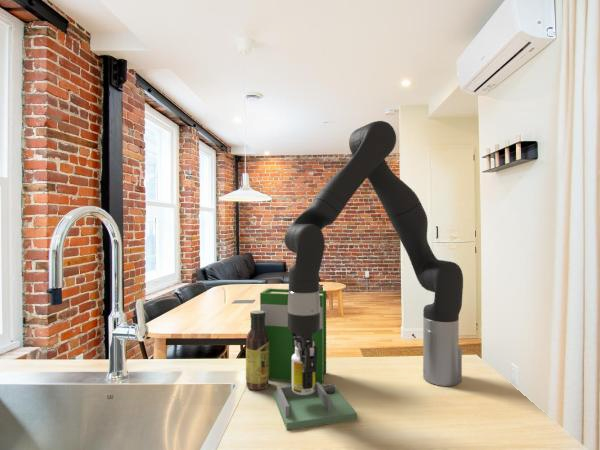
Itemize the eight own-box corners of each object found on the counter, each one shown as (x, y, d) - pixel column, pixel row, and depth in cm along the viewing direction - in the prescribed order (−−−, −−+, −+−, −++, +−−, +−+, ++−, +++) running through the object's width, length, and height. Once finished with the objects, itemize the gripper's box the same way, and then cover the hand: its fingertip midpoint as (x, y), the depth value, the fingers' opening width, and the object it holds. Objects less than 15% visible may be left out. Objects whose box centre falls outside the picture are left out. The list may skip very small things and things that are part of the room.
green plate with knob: (333, 389, 97) (333, 374, 97) (356, 419, 82) (356, 401, 82) (273, 397, 93) (273, 381, 93) (286, 430, 78) (286, 411, 78)
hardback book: (326, 372, 108) (326, 290, 107) (322, 383, 101) (322, 295, 100) (268, 367, 111) (268, 288, 111) (260, 378, 104) (260, 293, 104)
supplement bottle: (319, 394, 84) (319, 349, 84) (296, 398, 82) (296, 352, 82) (310, 383, 90) (310, 341, 89) (288, 387, 88) (288, 344, 87)
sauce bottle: (265, 392, 96) (265, 315, 95) (242, 390, 97) (242, 314, 97) (272, 381, 102) (272, 309, 102) (250, 379, 103) (250, 308, 103)
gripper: (329, 316, 80) (329, 394, 80) (310, 302, 94) (310, 368, 94) (295, 318, 78) (295, 398, 78) (281, 304, 92) (281, 371, 92)
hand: (303, 381), depth 86 cm, fingers closed on supplement bottle, 5 cm apart
